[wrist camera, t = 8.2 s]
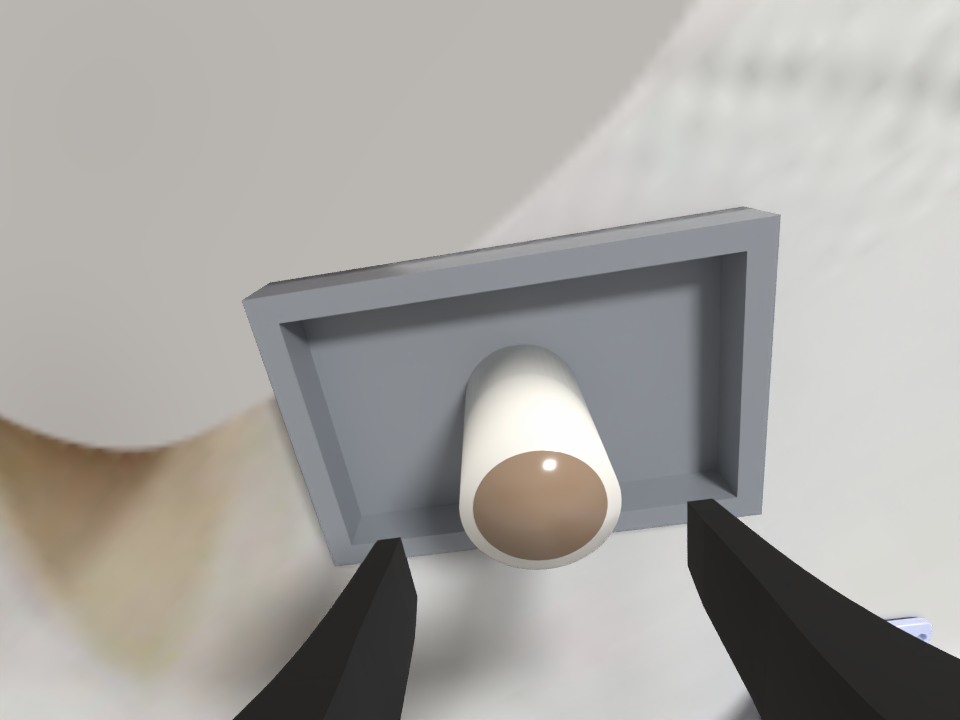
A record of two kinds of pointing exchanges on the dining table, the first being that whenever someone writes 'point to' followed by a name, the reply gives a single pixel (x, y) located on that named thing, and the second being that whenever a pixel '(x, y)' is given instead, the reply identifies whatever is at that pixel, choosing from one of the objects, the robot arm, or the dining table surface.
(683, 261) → the tray
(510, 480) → the cup
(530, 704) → the dining table surface
